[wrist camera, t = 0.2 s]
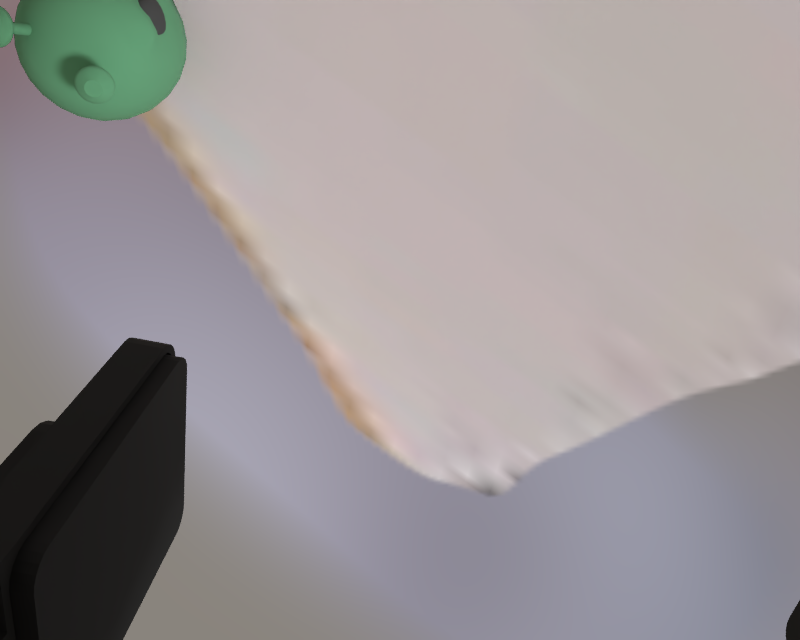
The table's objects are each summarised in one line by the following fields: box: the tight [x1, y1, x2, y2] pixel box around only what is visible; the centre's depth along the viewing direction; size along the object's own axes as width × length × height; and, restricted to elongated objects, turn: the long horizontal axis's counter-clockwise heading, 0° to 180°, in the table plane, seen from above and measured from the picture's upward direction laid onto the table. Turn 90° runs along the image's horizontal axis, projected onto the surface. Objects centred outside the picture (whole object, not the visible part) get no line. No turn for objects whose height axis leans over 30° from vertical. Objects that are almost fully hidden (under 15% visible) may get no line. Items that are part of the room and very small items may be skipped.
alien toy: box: [0, 0, 187, 121], centre depth 33 cm, size 7×8×10 cm
